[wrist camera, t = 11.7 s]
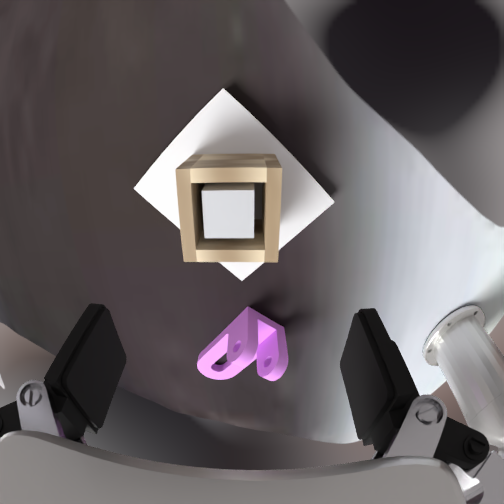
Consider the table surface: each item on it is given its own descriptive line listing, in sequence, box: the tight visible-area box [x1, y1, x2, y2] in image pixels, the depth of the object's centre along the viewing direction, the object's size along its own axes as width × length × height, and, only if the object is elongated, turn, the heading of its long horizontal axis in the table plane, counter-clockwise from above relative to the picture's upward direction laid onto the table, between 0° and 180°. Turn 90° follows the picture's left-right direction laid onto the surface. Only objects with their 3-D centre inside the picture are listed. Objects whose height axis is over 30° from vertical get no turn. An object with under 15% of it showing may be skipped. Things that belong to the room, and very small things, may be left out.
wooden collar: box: [175, 154, 282, 262], centre depth 22 cm, size 7×7×6 cm
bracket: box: [197, 307, 288, 381], centre depth 33 cm, size 13×6×7 cm, turn 142°
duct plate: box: [134, 89, 334, 281], centre depth 23 cm, size 14×12×7 cm
